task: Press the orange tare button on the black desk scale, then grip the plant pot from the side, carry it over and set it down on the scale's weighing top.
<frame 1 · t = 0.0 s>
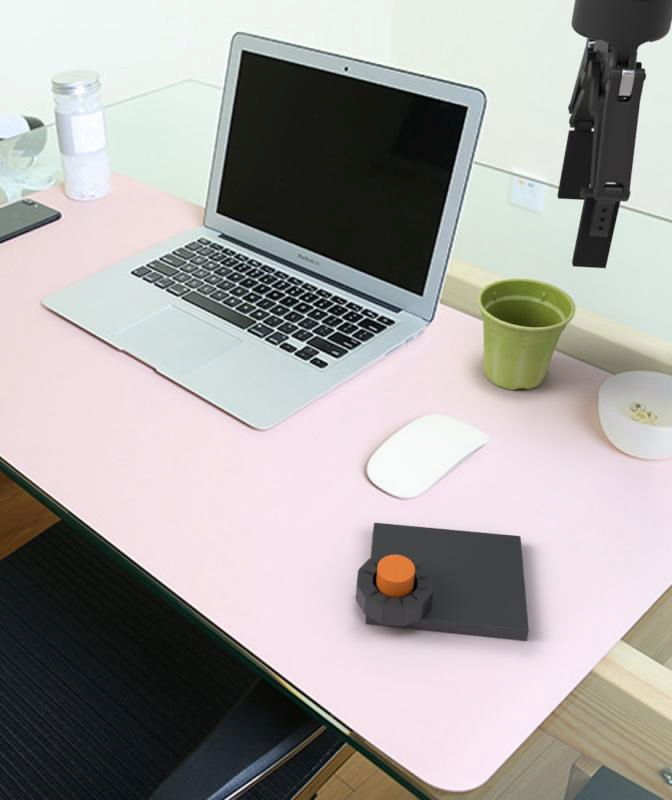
hand: (579, 229, 87), 17 cm above the table, tool pointing down, fingers open, 13 cm apart
tare button: (395, 576, 72), point 3 cm above the table, slide at 0.1 cm
scale: (445, 583, 76), on the table
plant pot: (513, 376, 99), on the table
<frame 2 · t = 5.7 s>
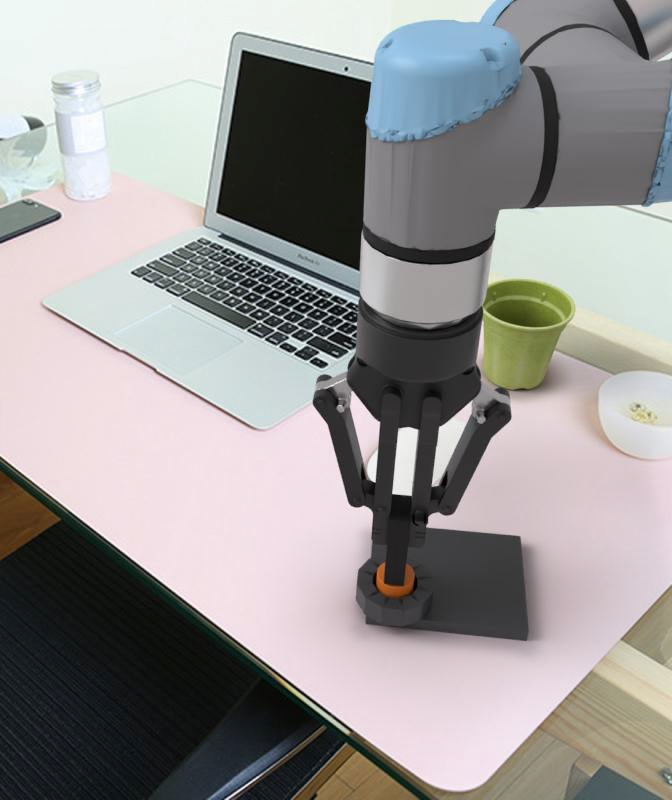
hand: (394, 571, 71), 4 cm above the table, tool pointing down, fingers closed
tare button: (395, 581, 72), point 3 cm above the table, slide at -0.5 cm, touching gripper
everything else where it was.
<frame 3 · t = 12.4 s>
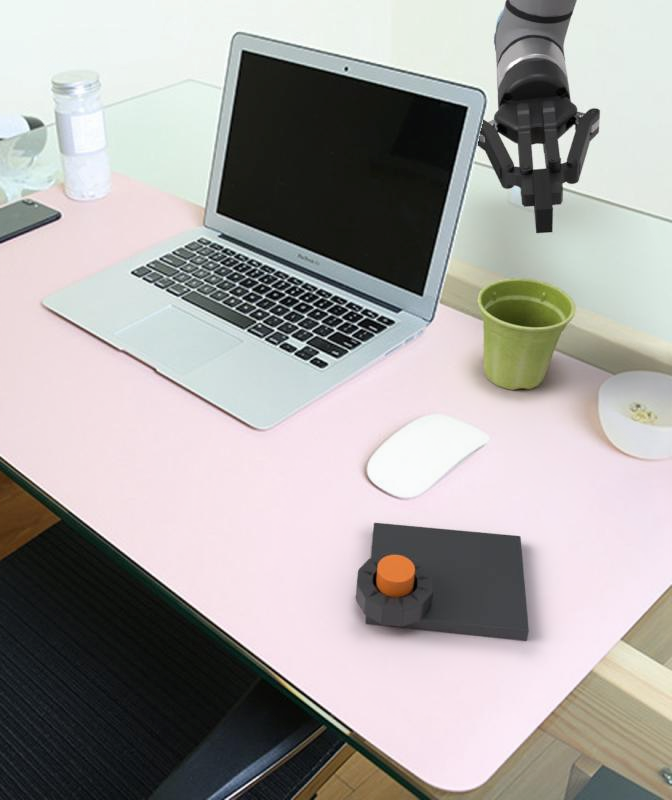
hand: (544, 221, 89), 17 cm above the table, tool horizontal, fingers closed
tare button: (395, 576, 72), point 3 cm above the table, slide at 0.1 cm
everything else where it was.
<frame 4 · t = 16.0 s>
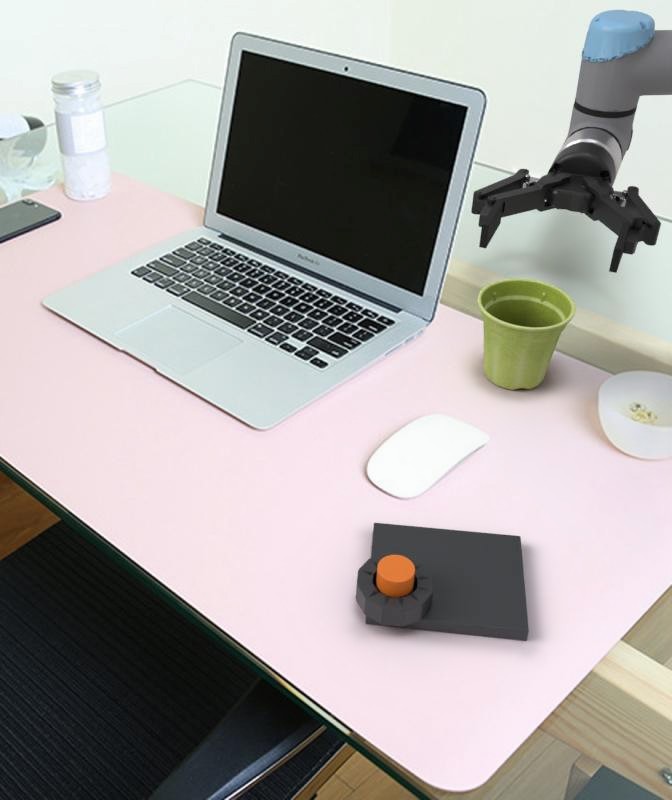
hand: (548, 248, 100), 10 cm above the table, tool horizontal, fingers open, 13 cm apart
nothing on the table moved.
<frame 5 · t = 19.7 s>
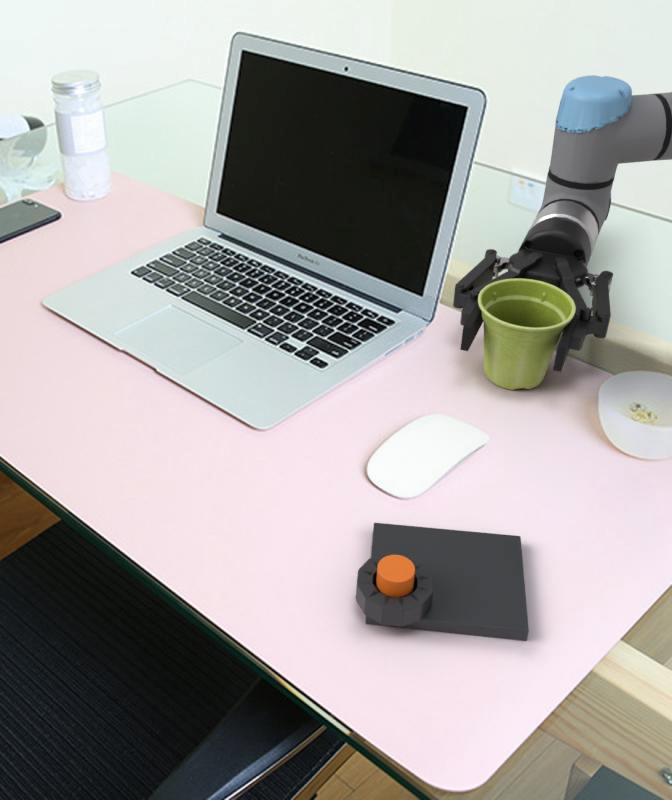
hand: (511, 349, 91), 6 cm above the table, tool horizontal, fingers closed on plant pot, 8 cm apart
plant pot: (513, 376, 99), on the table, touching gripper
everything else where it was.
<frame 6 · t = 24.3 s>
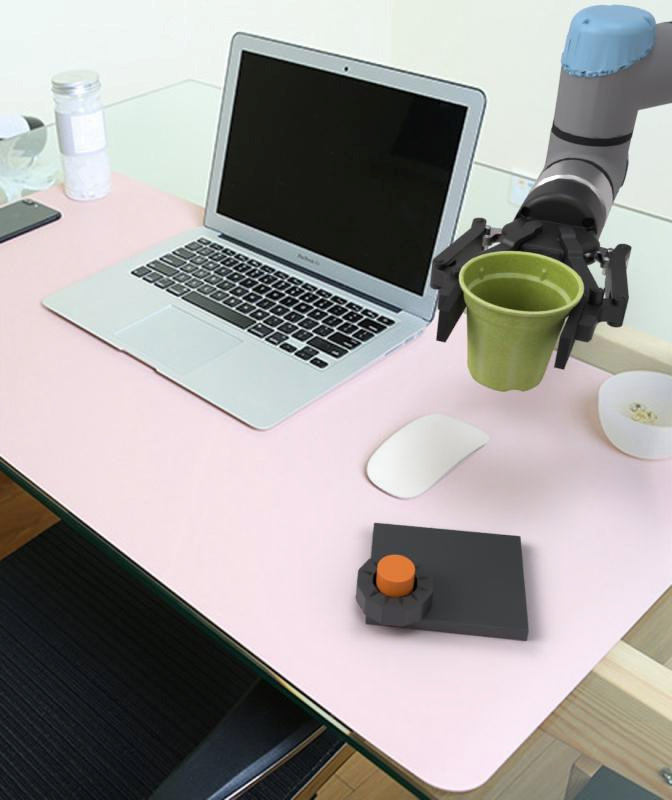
hand: (501, 339, 71), 18 cm above the table, tool horizontal, fingers closed on plant pot, 8 cm apart
plant pot: (505, 374, 78), point 12 cm above the table, touching gripper
everything else where it was.
when the fingers open (7 cm above the table, at t = 29.3 s): plant pot stays where it is, resting on scale.
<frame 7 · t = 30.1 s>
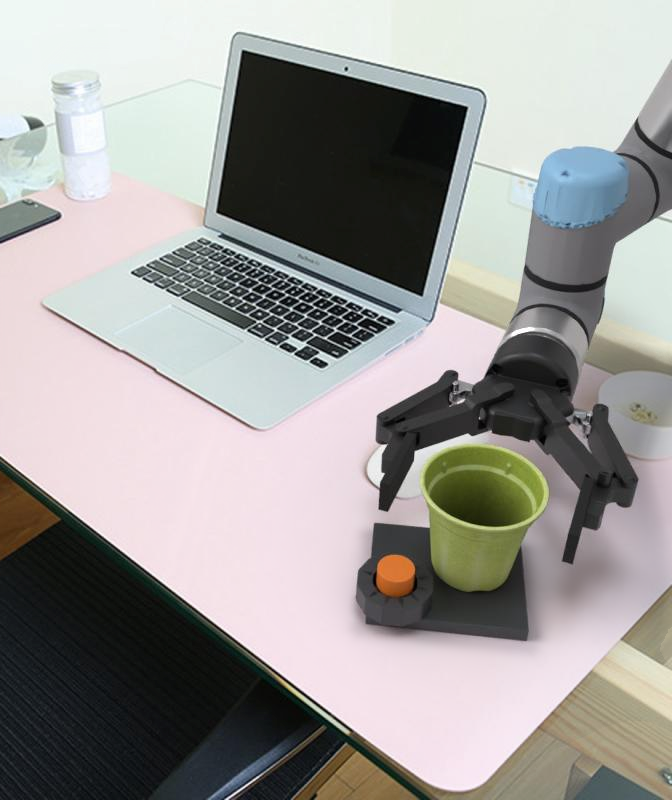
hand: (473, 522, 68), 9 cm above the table, tool horizontal, fingers open, 13 cm apart
plant pot: (470, 567, 76), point 1 cm above the table, touching scale
everything else where it was.
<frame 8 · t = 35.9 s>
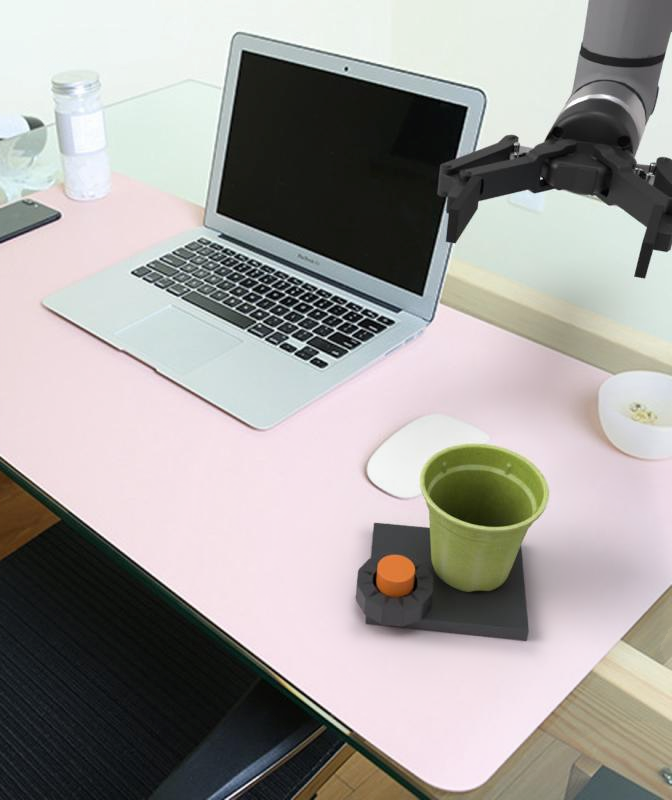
hand: (544, 243, 68), 25 cm above the table, tool horizontal, fingers open, 13 cm apart
nothing on the table moved.
at the end: tare button pushed in 1.0 cm at the most during the clip, back to where it started at the end; plant pot touching scale; plant pot 2.2 cm from the scale (horizontally) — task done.
